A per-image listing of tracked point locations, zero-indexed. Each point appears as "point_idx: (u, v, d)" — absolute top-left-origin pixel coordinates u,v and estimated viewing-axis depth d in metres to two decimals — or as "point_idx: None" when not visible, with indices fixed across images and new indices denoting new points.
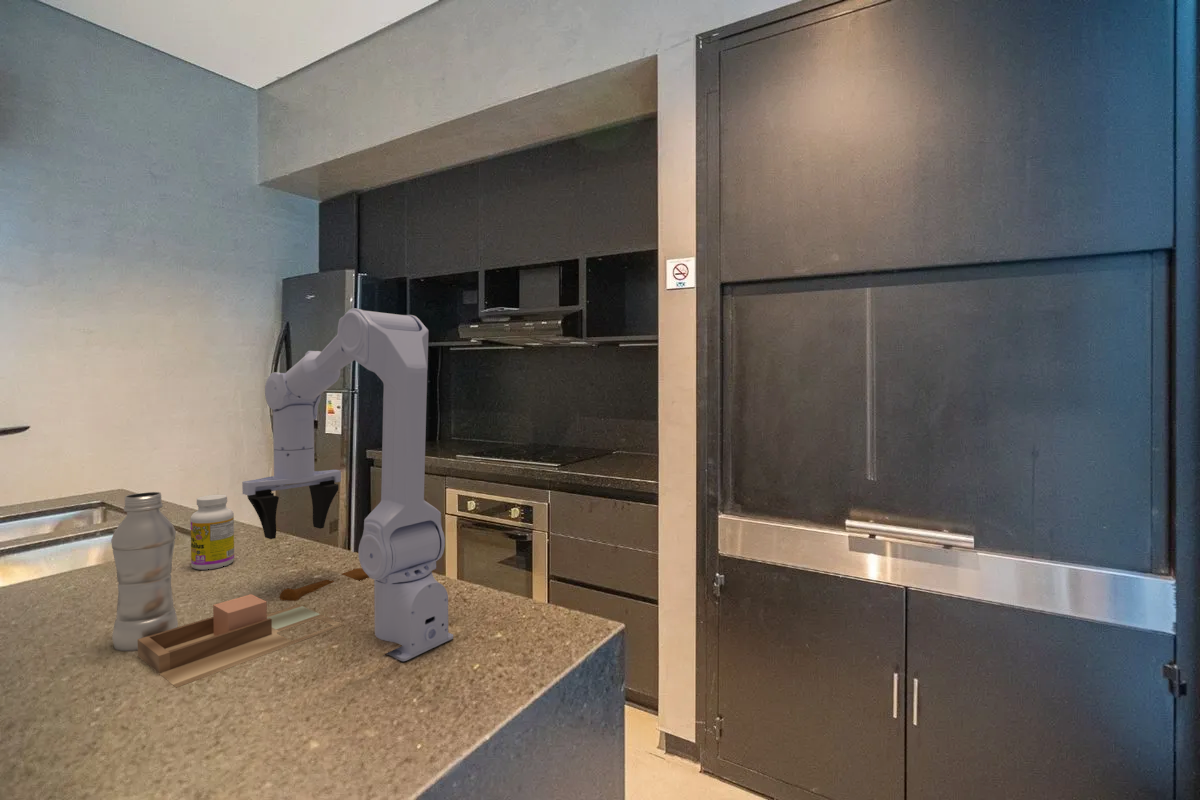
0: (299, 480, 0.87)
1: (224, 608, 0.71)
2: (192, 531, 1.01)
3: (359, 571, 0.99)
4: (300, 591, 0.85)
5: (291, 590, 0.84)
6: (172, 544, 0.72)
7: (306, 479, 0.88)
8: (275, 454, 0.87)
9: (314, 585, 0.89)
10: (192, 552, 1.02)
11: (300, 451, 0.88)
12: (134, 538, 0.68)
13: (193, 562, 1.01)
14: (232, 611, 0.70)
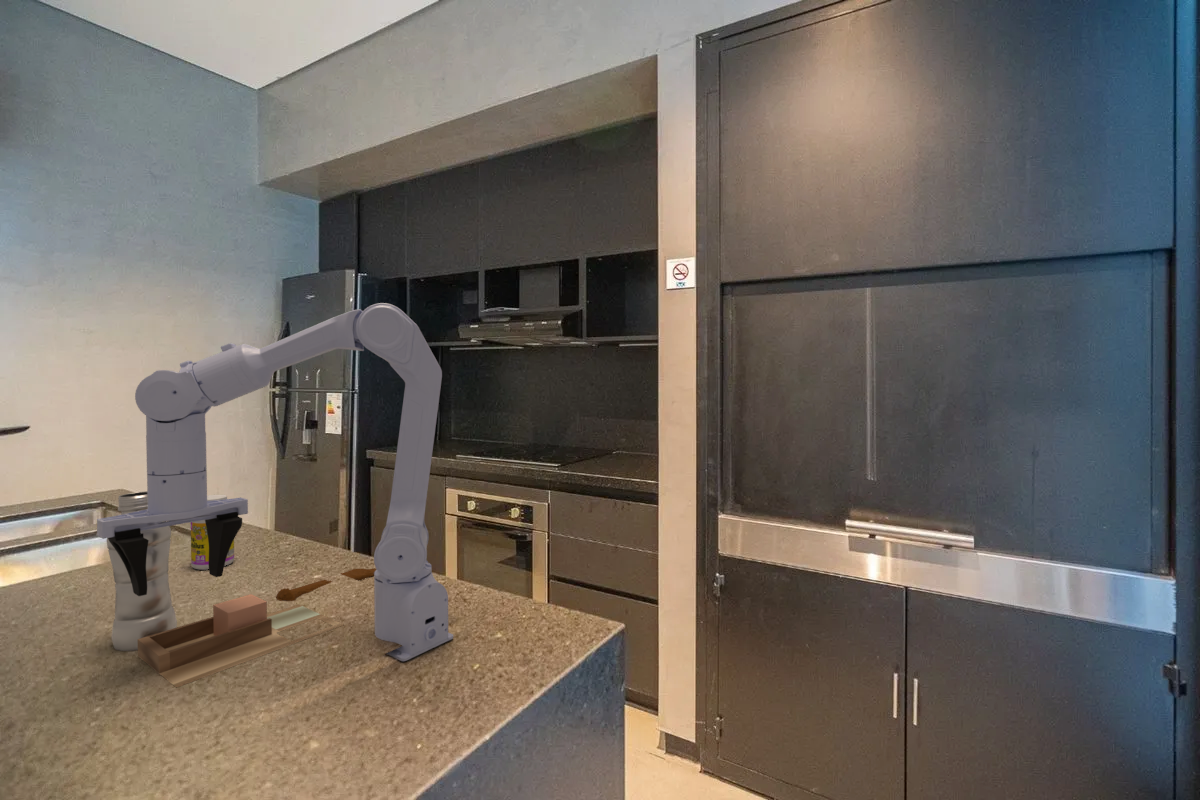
0: (180, 515, 0.65)
1: (224, 608, 0.71)
2: (192, 531, 1.01)
3: (357, 571, 0.99)
4: (297, 592, 0.85)
5: (288, 590, 0.84)
6: (168, 542, 0.72)
7: (191, 514, 0.66)
8: (148, 480, 0.65)
9: (311, 585, 0.89)
10: (192, 552, 1.02)
11: (182, 476, 0.65)
12: None
13: (193, 562, 1.01)
14: (232, 611, 0.70)
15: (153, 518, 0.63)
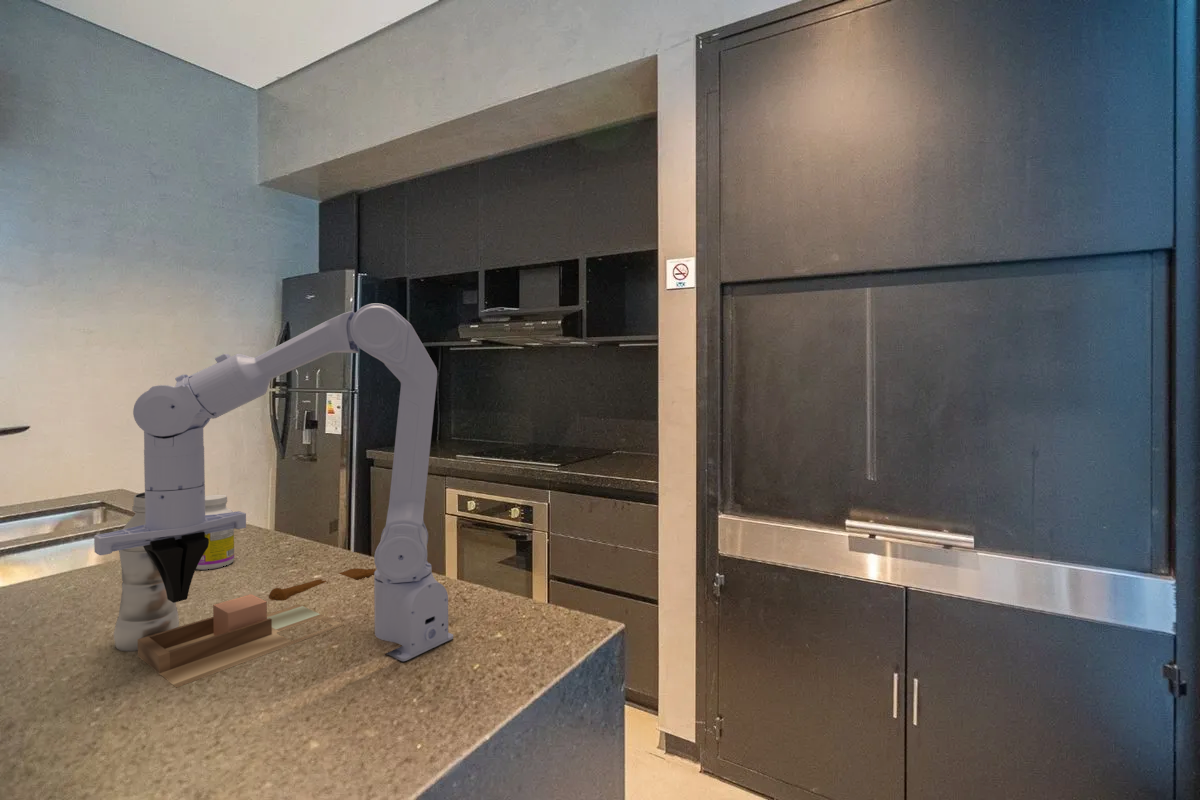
0: (178, 531, 0.64)
1: (224, 608, 0.71)
2: None
3: (355, 571, 0.99)
4: (289, 591, 0.86)
5: (279, 590, 0.84)
6: None
7: (189, 529, 0.65)
8: (146, 496, 0.64)
9: (305, 585, 0.89)
10: None
11: (180, 492, 0.65)
12: None
13: None
14: (232, 611, 0.70)
15: (151, 534, 0.63)
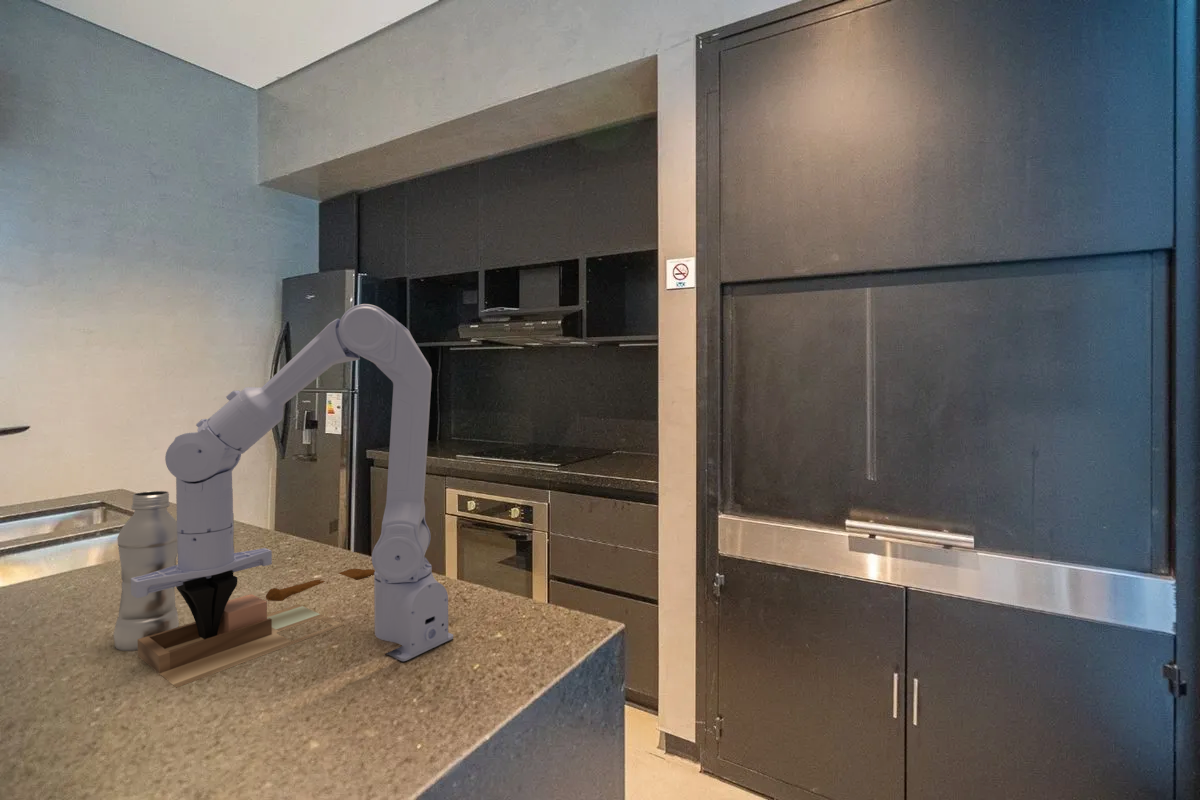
0: (210, 572, 0.67)
1: None
2: None
3: (352, 572, 0.99)
4: (286, 591, 0.85)
5: (277, 590, 0.84)
6: None
7: (220, 569, 0.68)
8: (179, 538, 0.67)
9: (302, 585, 0.89)
10: None
11: (211, 534, 0.67)
12: (141, 535, 0.69)
13: None
14: (232, 610, 0.70)
15: (184, 576, 0.66)
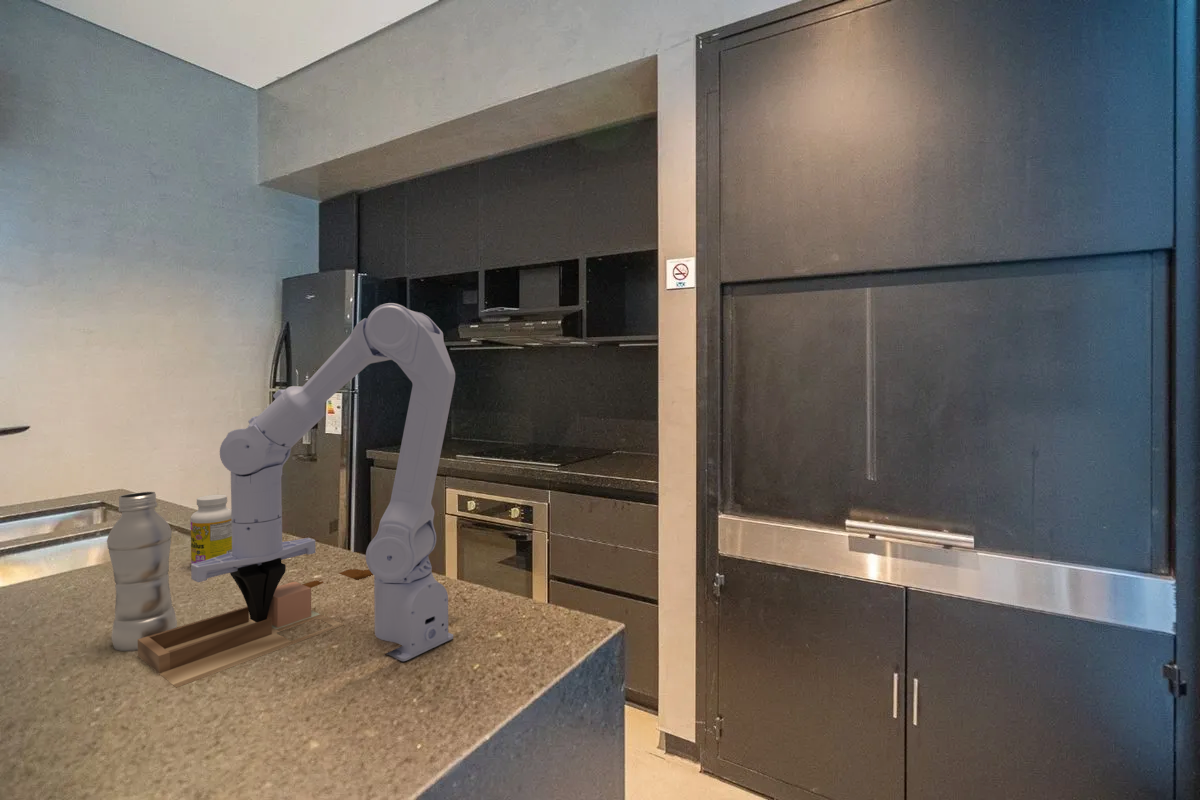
0: (262, 559, 0.72)
1: None
2: (192, 531, 1.01)
3: (351, 572, 0.98)
4: None
5: None
6: (168, 543, 0.72)
7: (271, 557, 0.73)
8: (233, 527, 0.72)
9: None
10: (192, 552, 1.02)
11: (264, 523, 0.72)
12: (130, 537, 0.68)
13: (193, 562, 1.01)
14: (280, 596, 0.75)
15: (239, 562, 0.71)
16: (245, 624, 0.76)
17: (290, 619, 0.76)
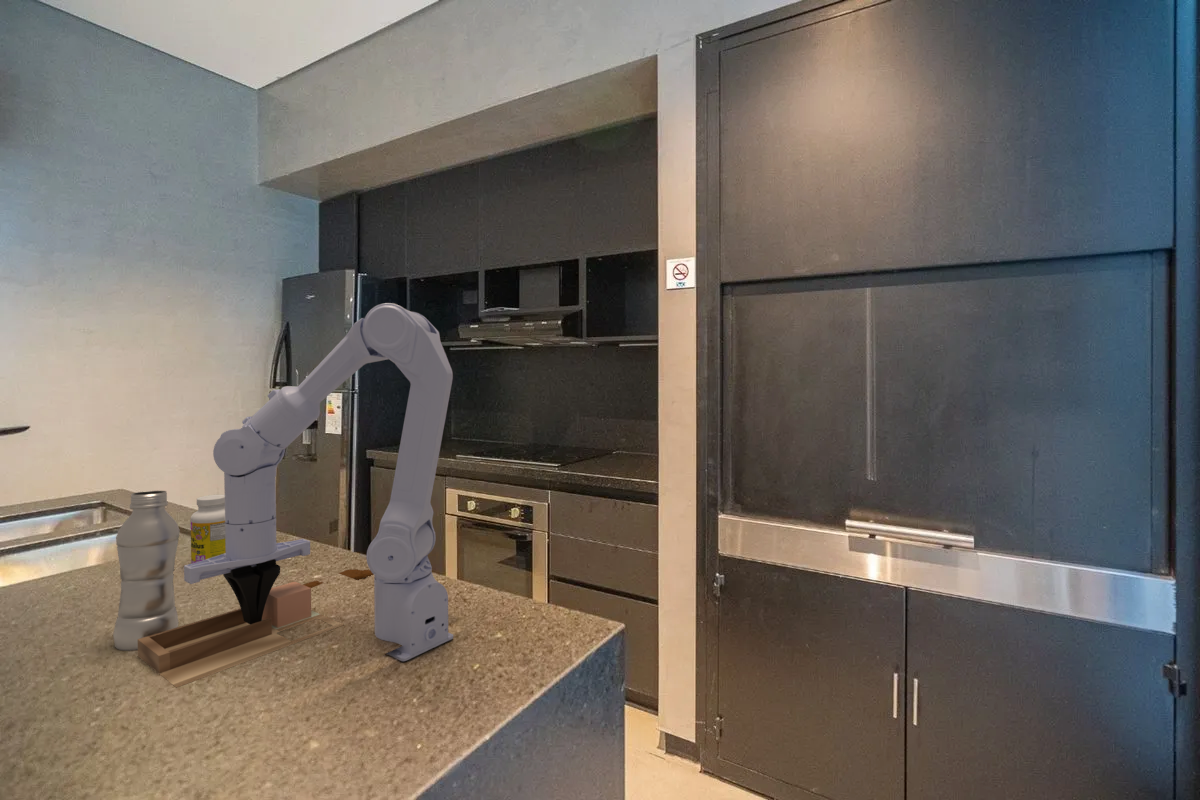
0: (256, 560, 0.71)
1: (273, 593, 0.76)
2: (192, 531, 1.01)
3: (350, 572, 0.98)
4: None
5: None
6: (176, 542, 0.72)
7: (265, 558, 0.72)
8: (227, 528, 0.71)
9: None
10: (192, 552, 1.02)
11: (257, 525, 0.72)
12: (139, 534, 0.69)
13: (193, 562, 1.01)
14: (280, 596, 0.75)
15: (233, 563, 0.70)
16: (245, 624, 0.76)
17: (290, 619, 0.76)
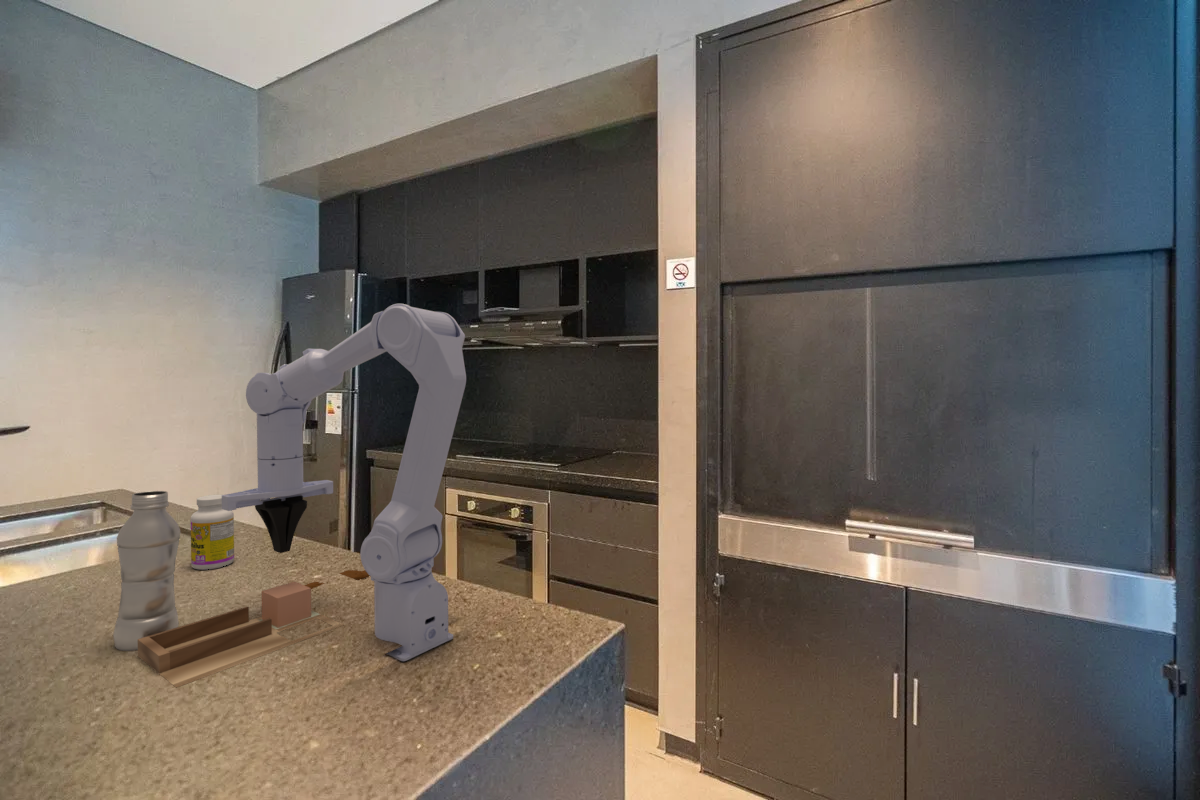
0: (286, 493, 0.78)
1: (273, 593, 0.76)
2: (192, 531, 1.01)
3: (350, 573, 0.98)
4: None
5: None
6: (177, 543, 0.72)
7: (294, 492, 0.79)
8: (259, 464, 0.78)
9: None
10: (192, 552, 1.02)
11: (287, 460, 0.78)
12: (140, 535, 0.69)
13: (193, 562, 1.01)
14: (280, 596, 0.75)
15: (265, 495, 0.77)
16: (245, 624, 0.76)
17: (290, 619, 0.76)
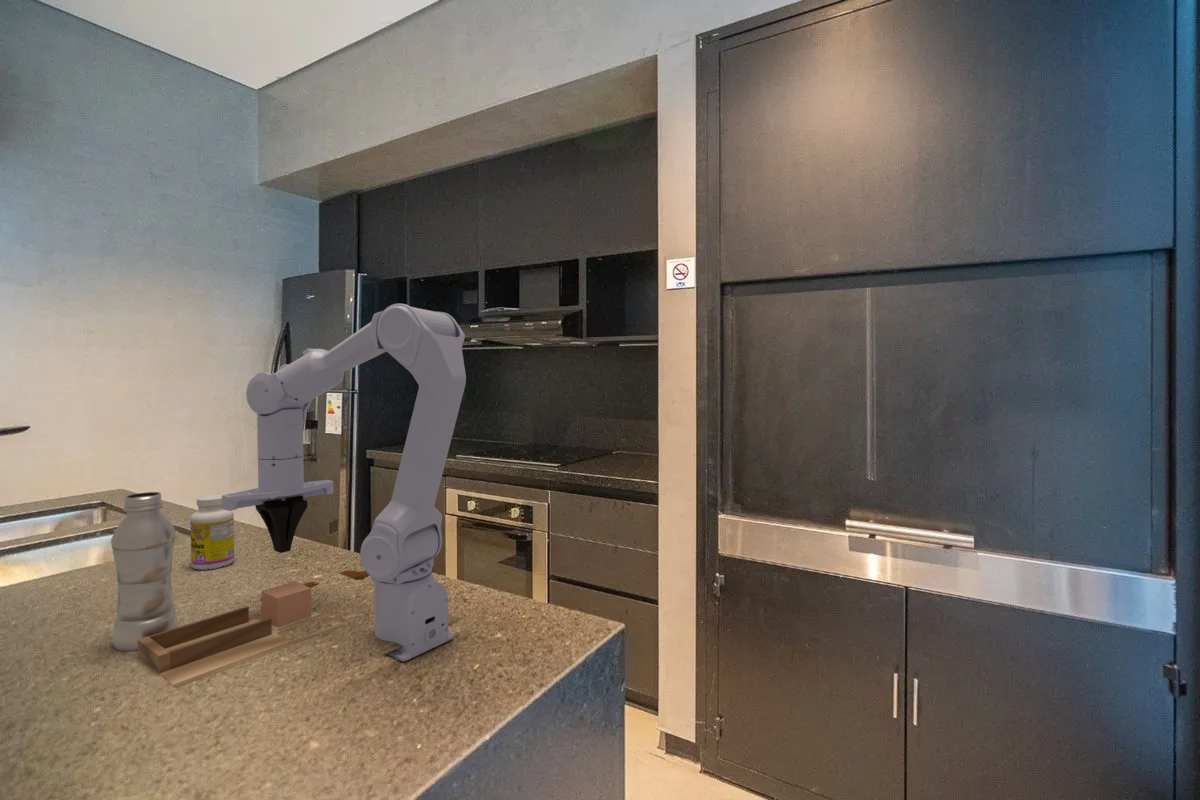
0: (286, 493, 0.78)
1: (273, 593, 0.76)
2: (192, 531, 1.01)
3: (347, 574, 0.98)
4: None
5: None
6: (172, 544, 0.72)
7: (294, 492, 0.79)
8: (260, 463, 0.78)
9: None
10: (192, 552, 1.02)
11: (287, 460, 0.78)
12: (135, 538, 0.68)
13: (193, 562, 1.01)
14: (280, 596, 0.75)
15: (266, 495, 0.77)
16: (245, 624, 0.76)
17: (290, 619, 0.76)
